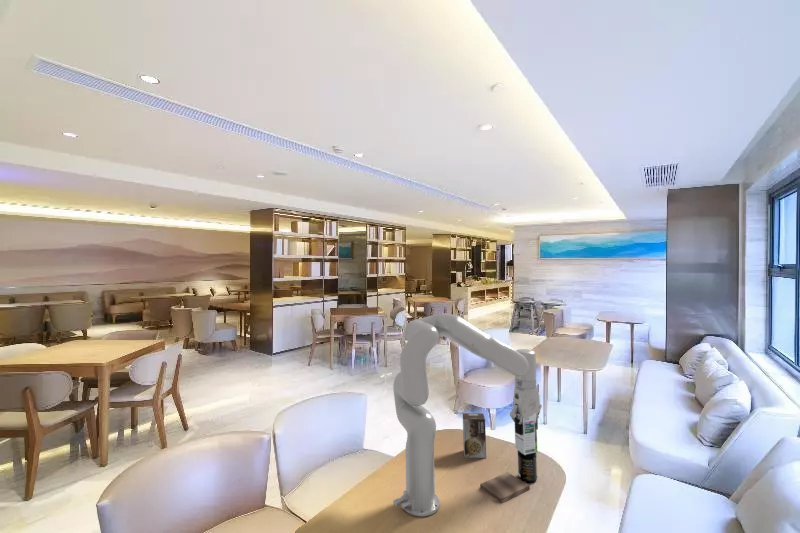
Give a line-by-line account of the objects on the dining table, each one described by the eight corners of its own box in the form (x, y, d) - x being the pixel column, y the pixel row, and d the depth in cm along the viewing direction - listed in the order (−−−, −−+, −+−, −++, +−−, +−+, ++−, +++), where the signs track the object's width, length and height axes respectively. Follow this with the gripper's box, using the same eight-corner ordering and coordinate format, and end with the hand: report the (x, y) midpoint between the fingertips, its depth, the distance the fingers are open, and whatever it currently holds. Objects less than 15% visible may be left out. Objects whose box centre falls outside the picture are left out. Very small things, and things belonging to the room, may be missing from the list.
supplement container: (540, 483, 131) (540, 454, 131) (523, 484, 130) (522, 455, 130) (531, 472, 138) (531, 445, 138) (514, 474, 137) (514, 446, 137)
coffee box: (484, 450, 155) (483, 413, 156) (486, 458, 149) (485, 419, 149) (463, 450, 156) (462, 412, 156) (464, 457, 150) (463, 418, 150)
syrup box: (524, 455, 130) (523, 414, 131) (514, 448, 136) (513, 409, 136) (537, 452, 132) (536, 412, 133) (527, 445, 138) (526, 407, 138)
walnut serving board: (501, 503, 120) (501, 498, 120) (480, 488, 128) (480, 483, 128) (529, 489, 127) (529, 485, 127) (507, 476, 136) (507, 472, 136)
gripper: (517, 390, 127) (518, 440, 127) (549, 382, 136) (550, 429, 136) (501, 384, 133) (502, 433, 133) (532, 377, 142) (533, 422, 142)
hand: (526, 430), depth 134 cm, fingers open, 7 cm apart
